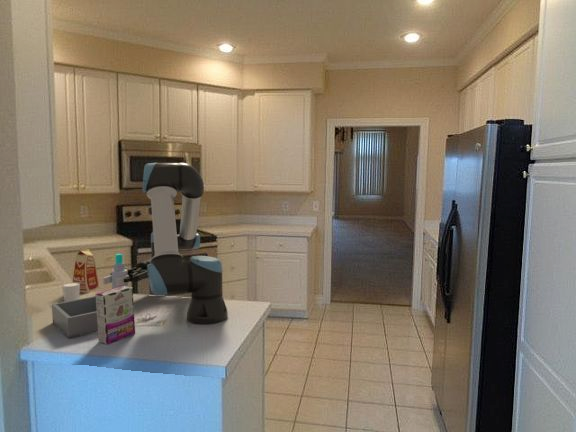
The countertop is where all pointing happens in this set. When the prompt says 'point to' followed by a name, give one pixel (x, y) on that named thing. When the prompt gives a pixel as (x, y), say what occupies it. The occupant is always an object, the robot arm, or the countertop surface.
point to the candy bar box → (115, 314)
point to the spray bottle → (118, 271)
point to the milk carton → (85, 271)
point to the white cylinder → (71, 291)
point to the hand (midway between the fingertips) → (110, 281)
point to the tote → (76, 317)
